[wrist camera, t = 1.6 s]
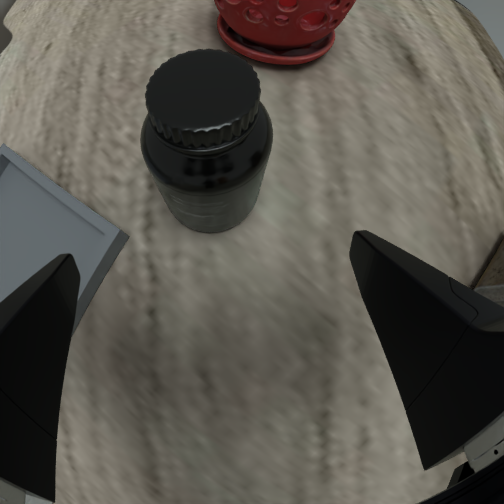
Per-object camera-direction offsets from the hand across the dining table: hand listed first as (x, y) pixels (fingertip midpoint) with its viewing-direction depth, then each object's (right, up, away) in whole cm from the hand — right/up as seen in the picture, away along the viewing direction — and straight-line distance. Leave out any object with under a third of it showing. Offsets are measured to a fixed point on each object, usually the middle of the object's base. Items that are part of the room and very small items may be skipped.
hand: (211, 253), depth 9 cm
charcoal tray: (-18, -1, +11) cm, 22 cm away
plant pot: (+3, +22, +17) cm, 28 cm away
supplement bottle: (-2, +5, +14) cm, 15 cm away
